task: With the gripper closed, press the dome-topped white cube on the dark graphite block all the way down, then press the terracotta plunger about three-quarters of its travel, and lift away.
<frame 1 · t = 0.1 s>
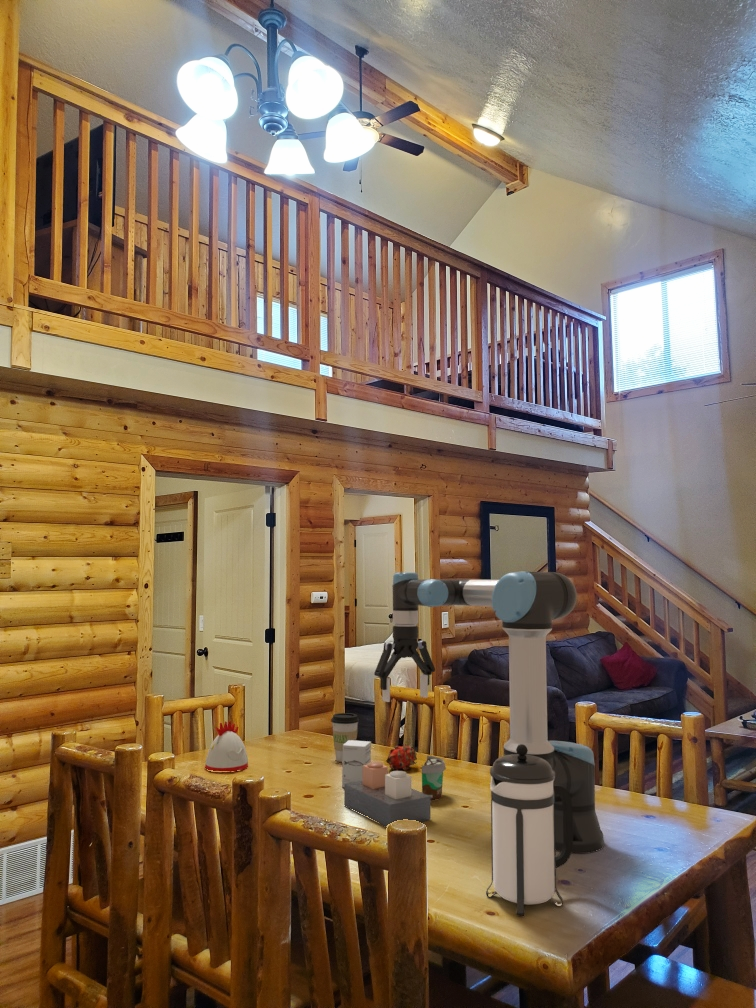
hand: (405, 699, 209), 28 cm above the table, tool pointing down, fingers open, 13 cm apart
dragon fruit: (401, 770, 238), on the table
supplement box: (356, 786, 220), on the table
food container: (435, 797, 209), on the table
terracotta plunger: (375, 776, 200), point 8 cm above the table, slide at 0.0 cm
coffee cup: (344, 760, 250), on the table
dome-topped white cube: (398, 785, 191), point 8 cm above the table, slide at 0.0 cm
kitchen timer: (226, 768, 239), on the table
coffee press: (527, 899, 143), on the table
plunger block: (386, 812, 194), on the table
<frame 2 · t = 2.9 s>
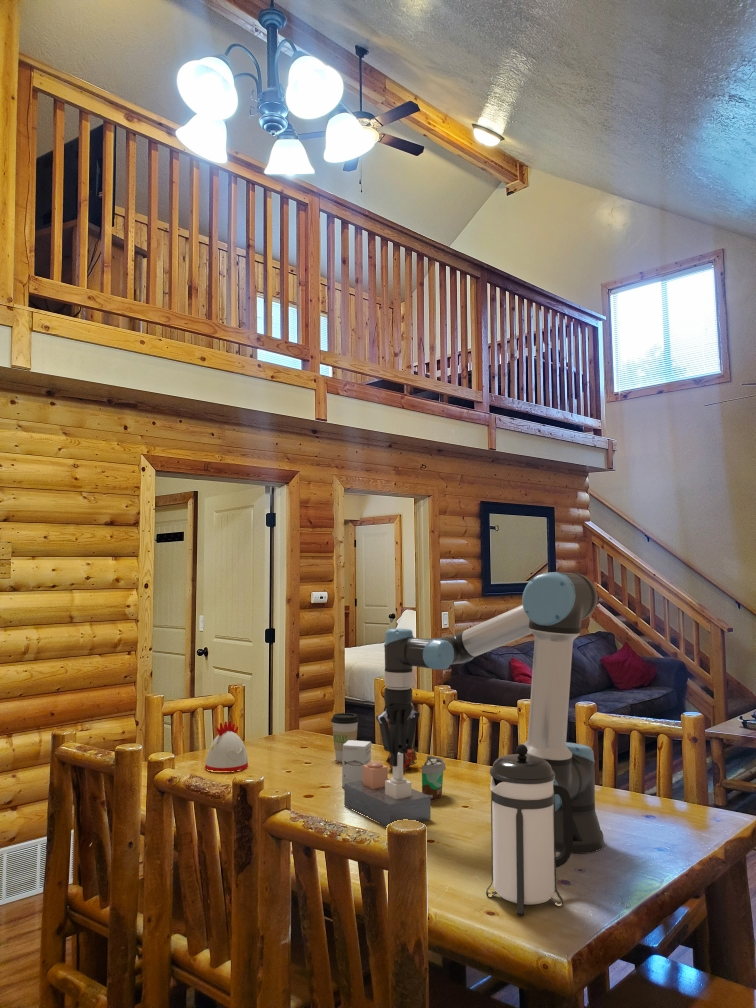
hand: (397, 778, 191), 10 cm above the table, tool pointing down, fingers closed
dome-topped white cube: (398, 792, 190), point 7 cm above the table, slide at 1.6 cm, touching gripper
everything else where it was.
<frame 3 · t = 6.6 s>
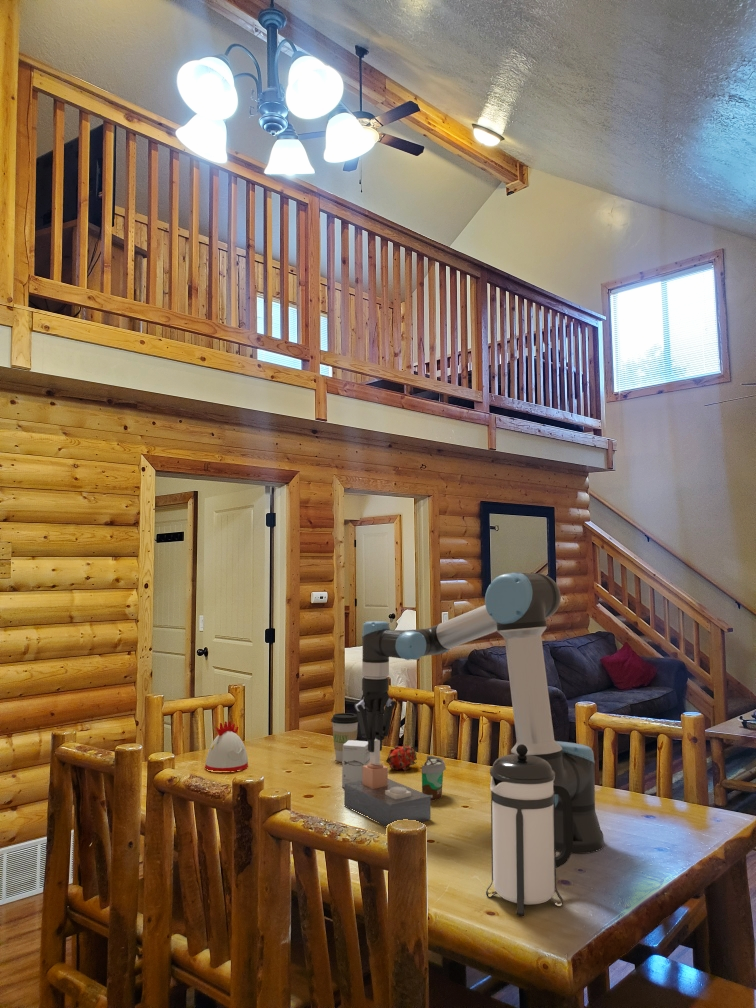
hand: (374, 763, 200), 12 cm above the table, tool pointing down, fingers closed
terracotta plunger: (375, 776, 200), point 8 cm above the table, slide at 0.1 cm, touching gripper
dome-topped white cube: (398, 801, 190), point 4 cm above the table, slide at 4.1 cm
everything else where it was.
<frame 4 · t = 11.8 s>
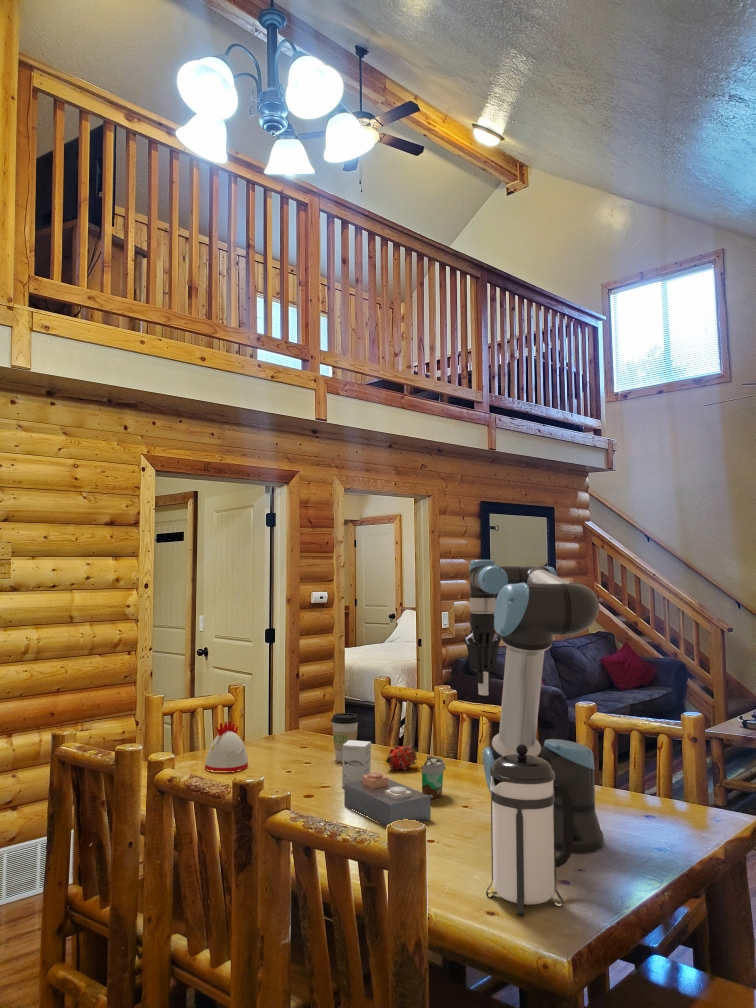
hand: (483, 694, 209), 29 cm above the table, tool pointing down, fingers closed
terracotta plunger: (374, 786, 199), point 6 cm above the table, slide at 2.8 cm
everything else where it was.
at the end: dome-topped white cube slide at 4.1 cm; terracotta plunger slide at 2.8 cm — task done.
